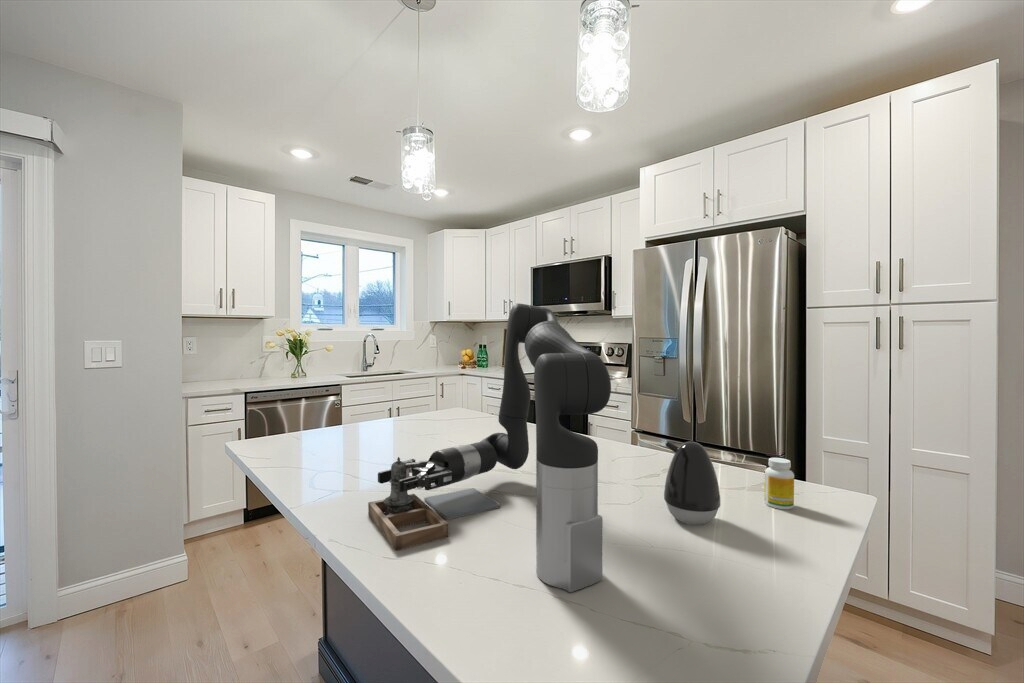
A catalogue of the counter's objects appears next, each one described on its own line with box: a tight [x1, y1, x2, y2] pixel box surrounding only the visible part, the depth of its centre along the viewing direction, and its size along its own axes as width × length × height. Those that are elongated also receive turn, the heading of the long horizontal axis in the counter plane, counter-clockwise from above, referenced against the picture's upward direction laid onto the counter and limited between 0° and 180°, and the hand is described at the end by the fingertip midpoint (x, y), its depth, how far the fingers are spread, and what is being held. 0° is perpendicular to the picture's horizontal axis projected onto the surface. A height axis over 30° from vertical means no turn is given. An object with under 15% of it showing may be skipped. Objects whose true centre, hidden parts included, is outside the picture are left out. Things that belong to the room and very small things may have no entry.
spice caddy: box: [367, 493, 449, 551], centre depth 86 cm, size 18×10×2 cm, turn 32°
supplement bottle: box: [763, 457, 795, 511], centre depth 96 cm, size 5×5×10 cm
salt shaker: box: [383, 456, 414, 515], centre depth 90 cm, size 6×6×12 cm
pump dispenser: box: [663, 441, 721, 526], centre depth 89 cm, size 10×10×15 cm
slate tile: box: [423, 487, 501, 521], centre depth 97 cm, size 12×12×1 cm
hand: (388, 482), depth 88 cm, fingers open, 6 cm apart
